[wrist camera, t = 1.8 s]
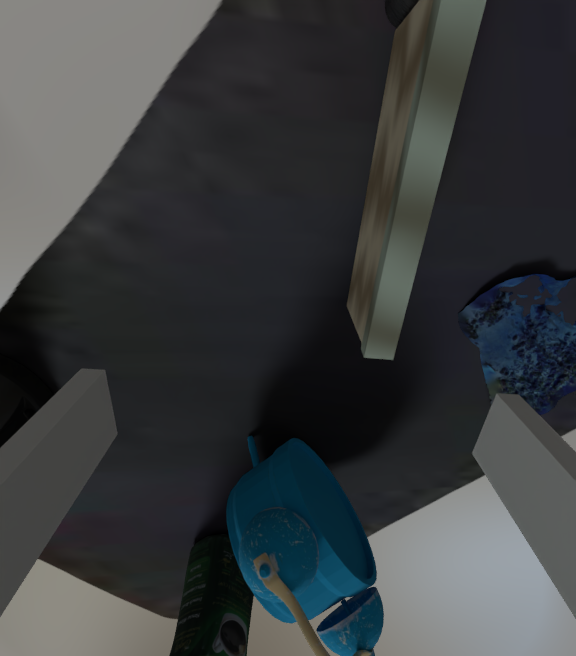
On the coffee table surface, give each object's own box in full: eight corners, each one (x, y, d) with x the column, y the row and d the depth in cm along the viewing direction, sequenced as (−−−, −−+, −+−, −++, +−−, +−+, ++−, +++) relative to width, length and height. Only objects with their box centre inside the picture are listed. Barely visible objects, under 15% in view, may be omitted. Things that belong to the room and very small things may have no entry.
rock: (502, 421, 39) (512, 433, 38) (437, 311, 34) (445, 319, 32) (635, 356, 36) (653, 365, 34) (588, 221, 30) (606, 224, 28)
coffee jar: (182, 545, 49) (127, 741, 32) (223, 523, 47) (187, 721, 30) (227, 576, 53) (198, 769, 36) (267, 557, 50) (256, 753, 34)
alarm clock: (222, 436, 40) (167, 657, 22) (293, 395, 38) (297, 607, 20) (302, 513, 46) (310, 737, 28) (368, 482, 43) (425, 707, 25)
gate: (391, 30, 23) (451, -49, 14) (440, 36, 23) (528, -40, 15) (343, 305, 32) (364, 357, 23) (379, 308, 32) (412, 361, 23)
